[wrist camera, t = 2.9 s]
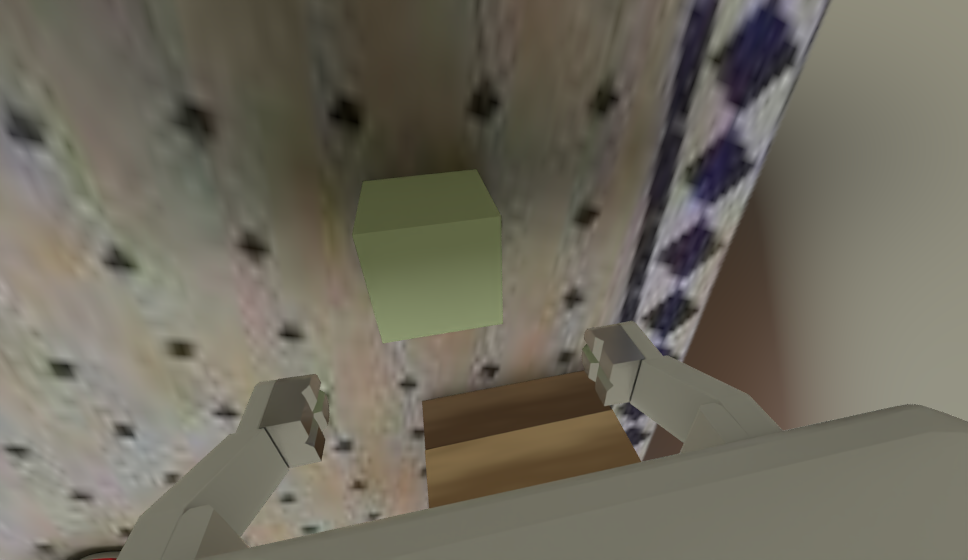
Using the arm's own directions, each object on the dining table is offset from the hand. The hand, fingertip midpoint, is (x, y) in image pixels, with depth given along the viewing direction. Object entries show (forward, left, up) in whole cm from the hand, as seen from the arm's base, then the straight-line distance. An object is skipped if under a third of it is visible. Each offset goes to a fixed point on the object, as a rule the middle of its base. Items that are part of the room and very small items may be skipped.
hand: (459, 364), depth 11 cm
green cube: (0, 0, -9) cm, 9 cm away
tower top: (+18, +4, -5) cm, 19 cm away
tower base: (+18, +4, -9) cm, 21 cm away
